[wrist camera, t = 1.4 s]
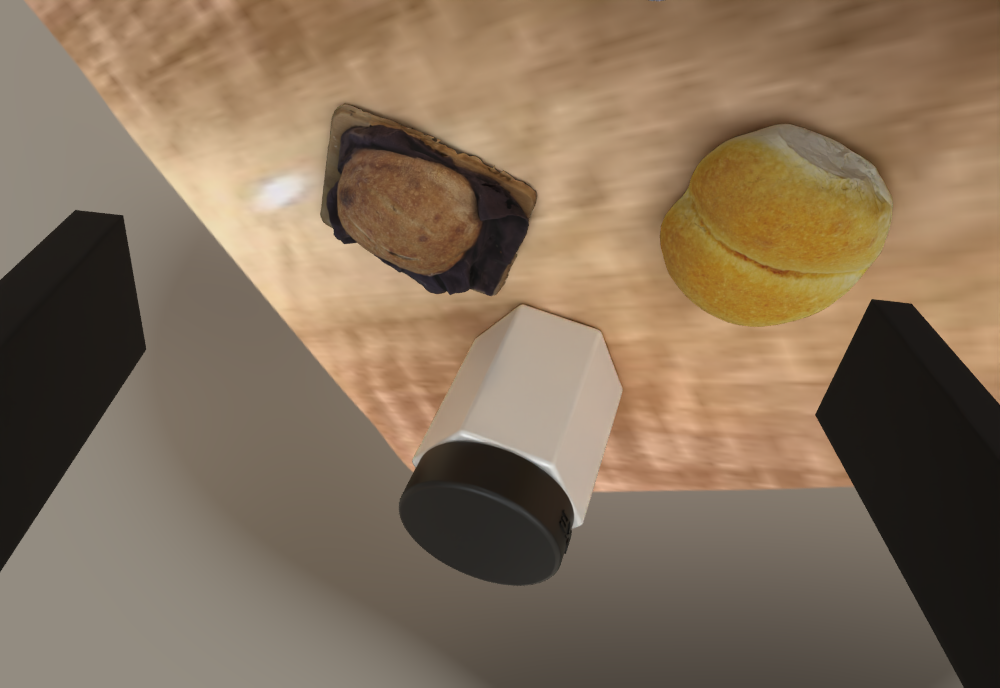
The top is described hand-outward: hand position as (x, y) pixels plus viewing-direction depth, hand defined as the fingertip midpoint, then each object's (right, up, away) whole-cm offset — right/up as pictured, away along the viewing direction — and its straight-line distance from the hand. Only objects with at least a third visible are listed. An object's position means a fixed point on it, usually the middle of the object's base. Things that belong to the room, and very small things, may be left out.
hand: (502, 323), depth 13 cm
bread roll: (+12, +5, +18) cm, 22 cm away
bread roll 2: (-4, +7, +24) cm, 26 cm away
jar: (+3, -1, +29) cm, 30 cm away
